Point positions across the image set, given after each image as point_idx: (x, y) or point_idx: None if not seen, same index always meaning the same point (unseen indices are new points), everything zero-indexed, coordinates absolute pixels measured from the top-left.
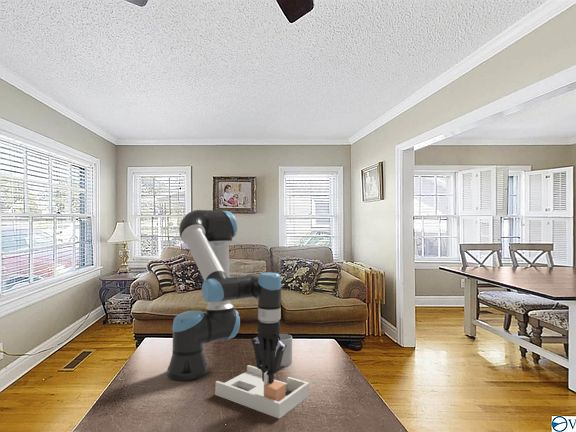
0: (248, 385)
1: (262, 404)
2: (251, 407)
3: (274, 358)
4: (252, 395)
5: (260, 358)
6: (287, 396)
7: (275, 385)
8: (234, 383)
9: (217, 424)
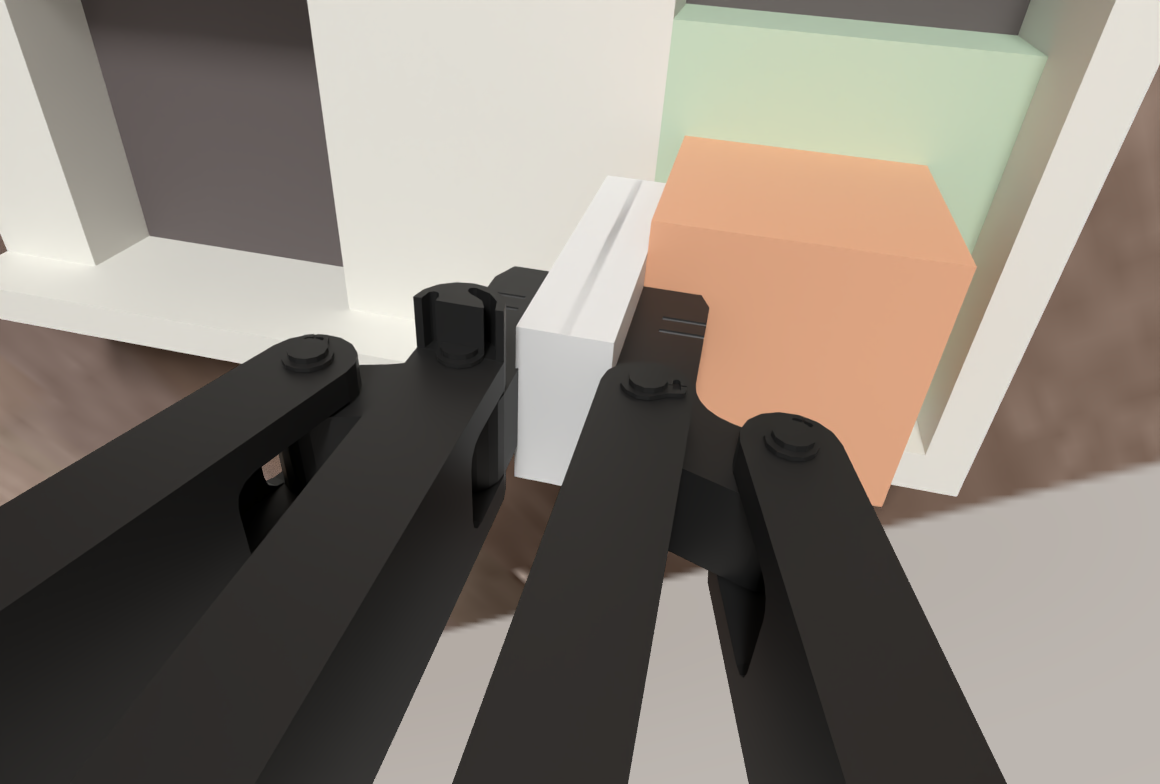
0: None
1: None
2: None
3: (641, 689)
4: None
5: (204, 592)
6: (1015, 284)
7: (797, 388)
8: (32, 67)
9: (480, 592)
